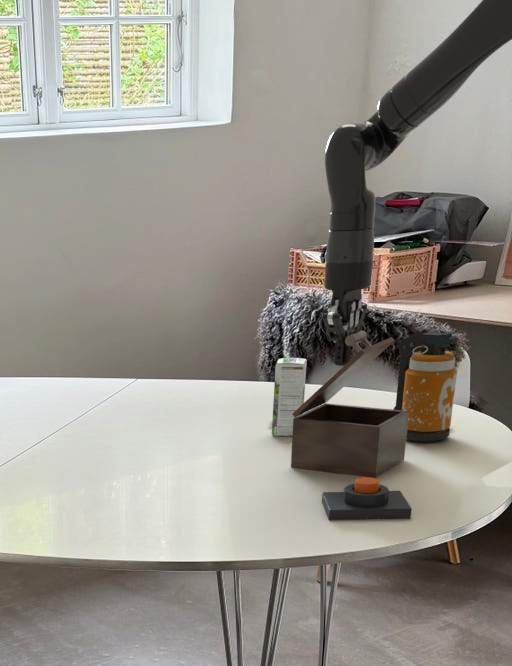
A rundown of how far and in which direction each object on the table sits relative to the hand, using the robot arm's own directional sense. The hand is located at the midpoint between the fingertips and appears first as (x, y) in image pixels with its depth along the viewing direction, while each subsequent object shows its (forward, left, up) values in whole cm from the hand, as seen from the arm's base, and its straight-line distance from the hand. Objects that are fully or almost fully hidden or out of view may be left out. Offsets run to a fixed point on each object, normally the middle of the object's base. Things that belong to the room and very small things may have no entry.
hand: (341, 364), depth 166 cm
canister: (-11, -21, -18) cm, 29 cm away
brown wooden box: (-2, 0, -18) cm, 18 cm away
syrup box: (+14, -19, -18) cm, 29 cm away
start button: (-10, +26, -14) cm, 31 cm away
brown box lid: (-1, 0, -3) cm, 3 cm away
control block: (-10, +25, -18) cm, 33 cm away
